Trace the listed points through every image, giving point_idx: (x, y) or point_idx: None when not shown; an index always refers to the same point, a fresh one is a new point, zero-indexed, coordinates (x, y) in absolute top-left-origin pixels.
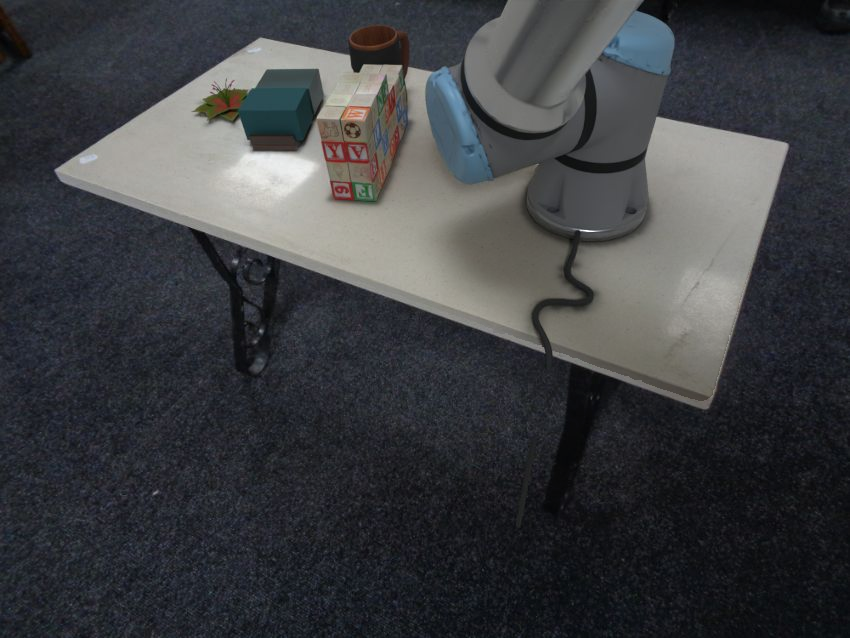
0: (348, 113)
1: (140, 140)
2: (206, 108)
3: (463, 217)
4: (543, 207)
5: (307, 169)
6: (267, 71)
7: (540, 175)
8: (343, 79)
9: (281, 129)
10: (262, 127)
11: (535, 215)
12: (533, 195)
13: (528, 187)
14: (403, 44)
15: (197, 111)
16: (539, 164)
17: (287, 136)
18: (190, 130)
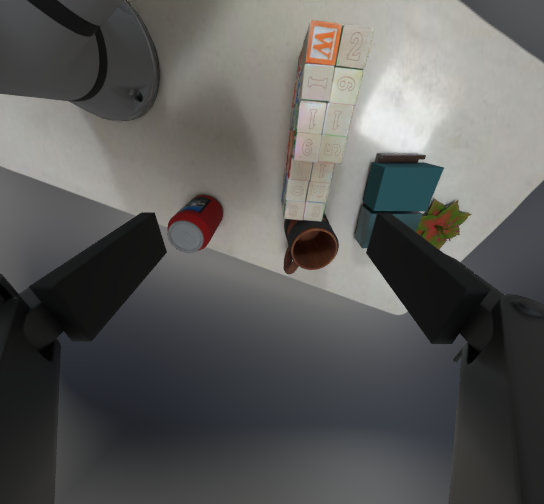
0: (332, 47)
1: (522, 171)
2: (456, 220)
3: (211, 28)
4: (122, 5)
5: (366, 120)
6: None
7: (121, 29)
8: (341, 144)
9: (394, 164)
10: (413, 164)
11: (138, 17)
12: (137, 29)
13: (150, 58)
14: (288, 265)
15: (465, 214)
16: (127, 51)
17: (388, 155)
18: (473, 189)
